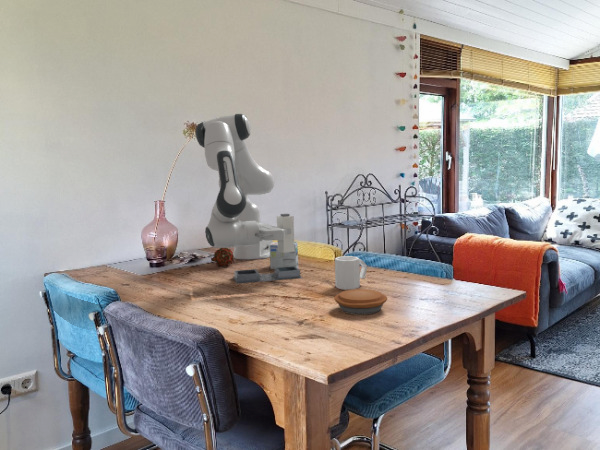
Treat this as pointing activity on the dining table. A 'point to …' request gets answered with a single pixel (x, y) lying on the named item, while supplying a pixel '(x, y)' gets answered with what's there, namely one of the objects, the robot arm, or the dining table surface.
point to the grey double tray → (266, 275)
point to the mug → (349, 272)
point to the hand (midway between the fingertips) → (287, 230)
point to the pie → (360, 301)
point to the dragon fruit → (223, 257)
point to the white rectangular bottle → (288, 243)
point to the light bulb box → (282, 257)
